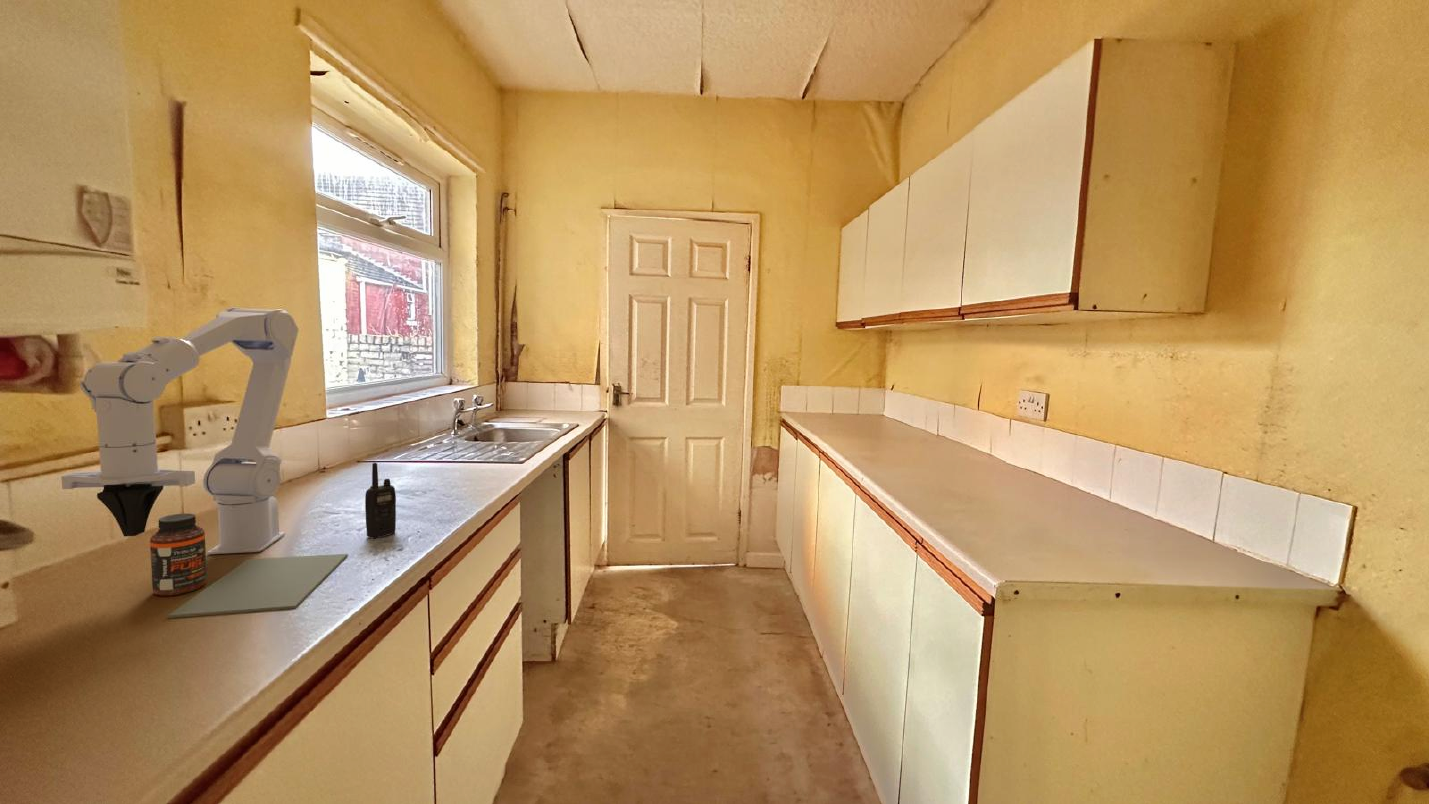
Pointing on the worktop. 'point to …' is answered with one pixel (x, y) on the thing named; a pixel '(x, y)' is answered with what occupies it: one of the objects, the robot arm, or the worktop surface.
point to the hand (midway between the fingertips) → (134, 534)
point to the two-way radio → (380, 507)
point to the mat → (262, 586)
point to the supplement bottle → (178, 555)
